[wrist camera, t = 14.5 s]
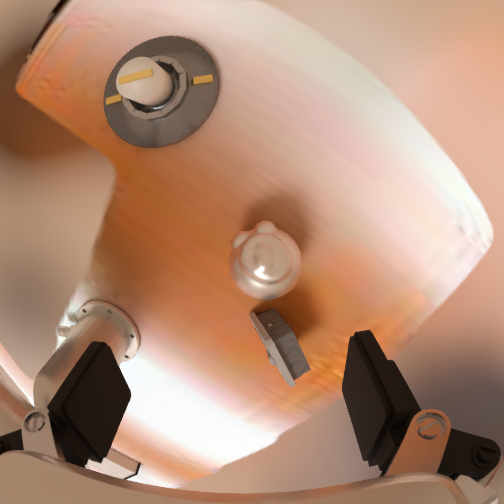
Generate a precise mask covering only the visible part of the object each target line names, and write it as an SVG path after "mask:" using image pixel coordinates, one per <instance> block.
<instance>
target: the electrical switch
mask: <svg viewBox="0 0 504 504" xmlns="http://www.w3.org/2000/svg"><path fill="white" fill-rule="evenodd" d="M249 316H250V319H251V321H252V323H253V325H254V327H255V329H256V331H257V332H258V334H259V336H260V338H261V340H262V342H263V344H264V345H265V347H266V349H267V354H268V358H269V361H270V363H271V364H272V365H275V364H276V366H277V368H278V369H279V371H280V373H281V374H282V376H283V377H284V379H285V381H286V382H287V383H288V384H289V386H290V387H292V386H294V385H296V383H295V381H294V380H295V379H296V378H298V377H300V376H301V375H302V374H304V373H305V372H307V371H309V370H311V369H310V367H309V365H308V363H307V360H306V358H305V356H304V354H303V352H302V350H301V347H300V345H299V343H298V341H297V339H296V337H295V334H294V332H293V331H292V329H291V328H290V327H289V326H288V325H287V323H286V322H285V321H284V320H283V319H282V317H281V316H280V315H279V314H278V312H277V311H276V310H275V309H274V308H272V309H270V310H269V311H267V312H264V313H261V314H260V315H257V316H256V315H255V313H254V312H253V313H251V314H250V315H249ZM291 331H292V332H291ZM288 333H289V334H288Z"/></svg>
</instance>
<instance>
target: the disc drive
mask: <svg viewBox="0 0 504 504" xmlns="http://www.w3.org/2000/svg"><path fill="white" fill-rule="evenodd" d="M140 464H141V463H138V462H136V461H134V460H132V459H130V458H128V457H126V456H124V455H122V454H120V453H119V452H117V451H115V450H113V449H111V448H110V450H109V453H108V455H107V457H106V458H103V461H102V464H101V463H97V462H94V461H91V460H90V459H89V460H88V465H90V466H92V467H94V468H96V469H97V470H99V471H101V472H103V473H105V474H107V475H109V476H113V477H117V478H121V479H125V480H126V479H128V478H130V477H133V476H135V475H137V474H138V471H139V467H140Z"/></svg>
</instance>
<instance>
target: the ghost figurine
mask: <svg viewBox="0 0 504 504" xmlns="http://www.w3.org/2000/svg"><path fill="white" fill-rule="evenodd" d="M231 247H232V250H231V253H230V257H229V270H230V274H231V277H232V279H233V281H234V283H235V284H236V286H237V287H238V288H239V289H240V290H241V291H242V292H243V293H245V294H246V295H248V296H250V297H253V298H256V299H260V300H271V299H276V298H279V297H281V296H283V295H285V294H286V293H288V292H289V291H290V290H291V289H292V288H293V287H294V286H295V284H296V283H297V281H298V279H299V277H300V274H301V270H302V256H301V252H300V249H299V247H298V245H297V244H296V242H295V241H294V239H293V238H292V237H291V236H290V235H288V234H287V233H286V232H284V231H282V230H280V229H278V228H276V226H275V225H274V224H273V223H272V222H270V221H261V222H259V223H258V224H257V225H256V226H255V228H254V229H252V230H250V231H240V232H238V233H236V234H235V235H234V236H233V238H232V240H231Z"/></svg>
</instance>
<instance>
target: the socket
mask: <svg viewBox="0 0 504 504" xmlns="http://www.w3.org/2000/svg"><path fill="white" fill-rule="evenodd" d="M137 57H147V58H150V59H152V60H153V61H154V62H155V63H157V64H158V65H159V66H160V67H161V68H162V69H163V70H165V71H166V72H167V73H168V74H169V75H170V76H171V77H172V78H173V79H174V82H175V92H174V95H173V97H172V98H171V99H170V101H169V102H167V103H166V104H165V105H163V106H160V107H156V108H152V107H148V106H146V105H143V104H141V103H138V102H136V101H133V100H131V99H128V98H126V97H123V96H122V95H121V94H120V93H119V92H118V90H117V87H116V78H117V75H118V73H119V71H120V69H121V68H122V67H123V65H124V64H126V63H127V62H128V61H130V60H131V59H134V58H137ZM218 90H219V78H218V72H217V69H216V66H215V64H214V62H213V60H212V58H211V56H210V55H209V54H208V52H207V51H206V50H205V49H204V48H203V47H201V46H200V45H198V44H197V43H195V42H193V41H191V40H189V39H186V38H181V37H173V36H167V37H159V38H154V39H151V40H148V41H146V42H144V43H141V44H140V45H138V46H136V47H134V48H133V49H132V50H130V51H129V52H128V53H127V54H126V55H125V56H123V57H122V59H121V60H120V61H119V62H118V63H117V65H116V66H115V67H114V69H113V71H112V72H111V74H110V76H109V78H108V81H107V84H106V87H105V92H104V111H105V115H106V118H107V120H108V123H109V125H110V126H111V128H112V129H113V131H114V132H115V133H116V134H117V135H118V136H119V137H120V138H122V139H123V140H125V141H126V142H128V143H130V144H133V145H136V146H140V147H151V148H157V147H164V146H168V145H172V144H175V143H177V142H179V141H181V140H183V139H185V138H187V137H188V136H190V135H191V134H193V133H194V132H195V131H196V130H197V129H198V128H199V127H200V126H201V125H202V124H203V123H204V122H205V121H206V119H207V118H208V117H209V115H210V113H211V111H212V110H213V107H214V105H215V103H216V99H217V96H218Z"/></svg>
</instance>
